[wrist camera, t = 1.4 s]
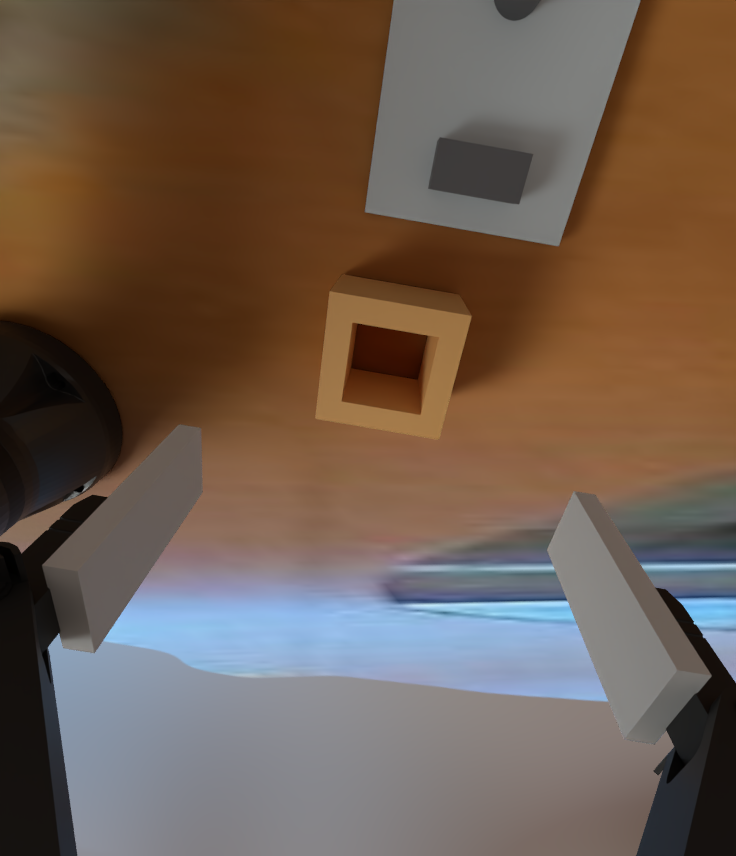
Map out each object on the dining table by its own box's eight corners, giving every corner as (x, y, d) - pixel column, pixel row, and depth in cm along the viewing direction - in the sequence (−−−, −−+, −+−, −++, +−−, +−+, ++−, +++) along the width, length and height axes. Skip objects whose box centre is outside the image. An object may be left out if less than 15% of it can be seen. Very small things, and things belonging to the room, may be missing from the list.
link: (328, 383, 34) (315, 418, 28) (342, 274, 30) (329, 291, 25) (433, 401, 34) (438, 439, 29) (459, 294, 30) (471, 315, 25)
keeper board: (366, 211, 28) (353, 217, 21) (418, -168, 21) (427, -362, 13) (552, 244, 28) (604, 261, 21) (671, -120, 21) (815, -287, 14)
